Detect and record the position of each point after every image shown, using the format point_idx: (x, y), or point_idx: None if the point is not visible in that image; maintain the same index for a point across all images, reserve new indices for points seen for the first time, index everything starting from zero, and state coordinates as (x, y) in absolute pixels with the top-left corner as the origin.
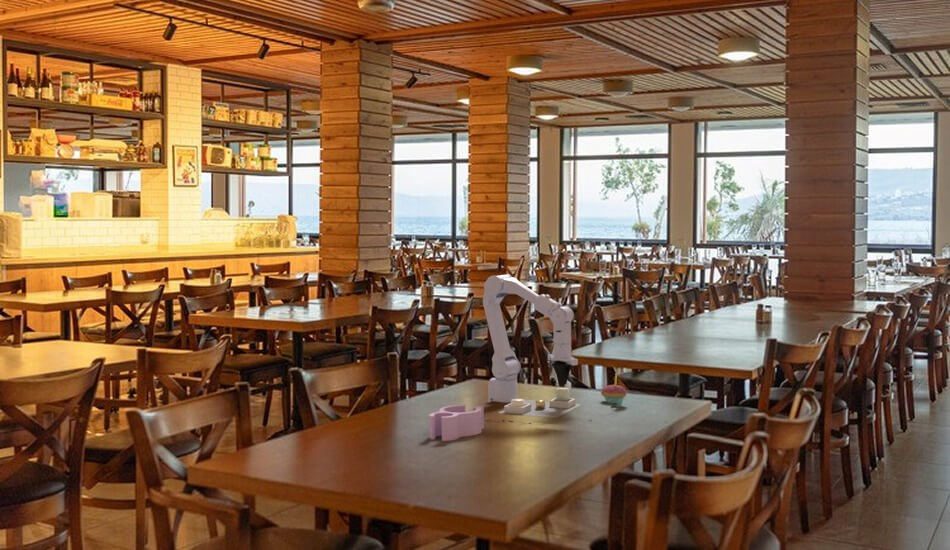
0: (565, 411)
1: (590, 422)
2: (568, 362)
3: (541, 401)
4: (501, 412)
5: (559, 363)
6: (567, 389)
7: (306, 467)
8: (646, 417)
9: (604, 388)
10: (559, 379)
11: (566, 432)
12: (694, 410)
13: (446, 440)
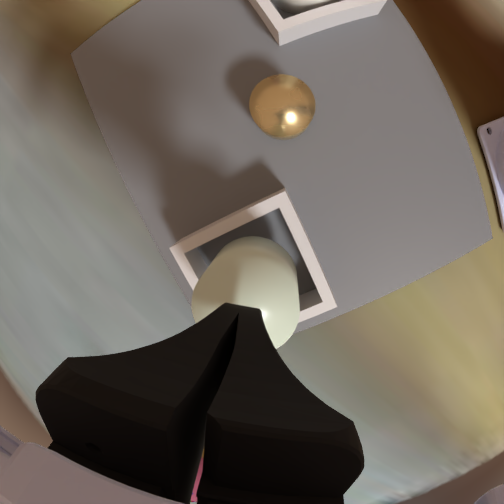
0: (129, 167)
1: (23, 175)
2: (5, 452)
3: (260, 95)
4: None
5: (198, 491)
6: (199, 318)
7: None
8: (27, 354)
9: (198, 473)
10: (223, 318)
11: (4, 37)
12: None
13: None
